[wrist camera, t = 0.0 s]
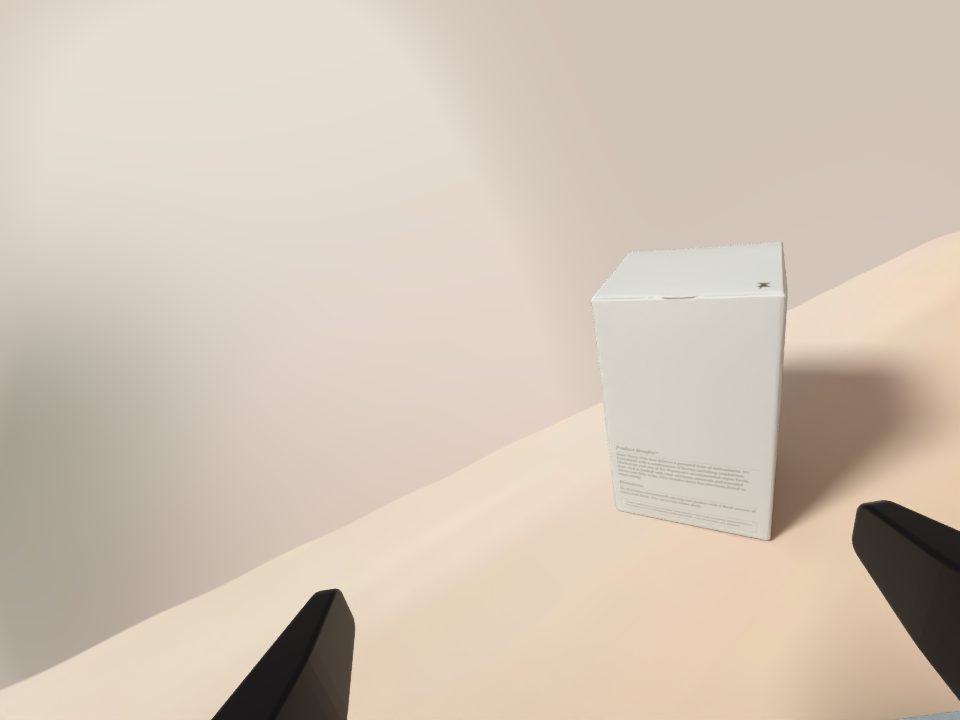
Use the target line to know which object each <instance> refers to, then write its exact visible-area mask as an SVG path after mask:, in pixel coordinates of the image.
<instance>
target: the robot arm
mask: <svg viewBox="0 0 960 720" xmlns="http://www.w3.org/2000/svg"><path fill="white" fill-rule="evenodd" d="M852 544H853V547H854V550H855V552H856V554H857V556H858V557H859V559H860V560H861V562H862V563H863V565H864V566H865V568H866V570H867V571H868V573H869V574H870V576H871V577H872V579H873V580H874V582H875V583H876V585H877V586H878V588H879V589H880V591H881V592H882V594H883V596H884V597H885V599H886V600H887V602H888V603H889V605H890V606H891V608H892V609H893V611H894V612H895V614H896V615H897V617H898V618H899V620H900V621H901V623H902V625H903V626H904V628H905V629H906V631H907V632H908V634H909V635H910V636H911V638H912V639H913V641H914V642H915V644H916V645H917V646H918V648H919V649H920V650H921V652H922V653H923V654H924V656H925V657H926V658H927V660H928V661H929V662H930V664H931V665H932V666H933V667H934V669H935V670H936V671H937V672H938V674H939V675H940V676H941V678H942V679H943V680H944V681H945V683H946V684H947V685H948V686H949V688H950V689H951V690H952V692H953V693H954V694H955V695H956V697H957V698H958V699H959V700H960V531H958V530H956V529H953V528H951V527H949V526H947V525H944V524H942V523H940V522H938V521H935V520H933V519H931V518H928V517H926V516H924V515H922V514H919V513H917V512H915V511H912V510H910V509H908V508H906V507H903V506H901V505H899V504H896V503H894V502H891V501H887V500H881V501H874V502H868V503H863V504H861V505H860V506H859V507H858V508H857V512H856V518H855V523H854V529H853V535H852ZM354 638H355V622H354V618H353V615H352V613H351V611H350V609H349V607H348V605H347V602H346V600H345V598H344V596H343V594H342V592H341V591H340V590H339V589H330V590H323V591H319V592H316V593H315V594H314V595H313V596H312V597H311V598H310V599H309V601H308V602H307V603H306V604H305V606H304V607H303V608H302V609H301V610H300V612H299V613H298V614H297V615H296V617H295V618H294V619H293V620H292V621H291V623H290V624H289V625H288V626H287V628H286V629H285V630H284V631H283V632H282V634H281V635H280V636H279V637H278V639H277V640H276V641H275V642H274V643H273V645H272V646H271V647H270V648H269V650H268V651H267V652H266V653H265V655H264V656H263V657H262V658H261V659H260V661H259V662H258V663H257V664H256V666H255V667H254V668H253V669H252V670H251V672H250V673H249V674H248V675H247V677H246V678H245V679H244V680H243V681H242V683H241V684H240V685H239V686H238V688H237V689H236V690H235V691H234V692H233V694H232V695H231V696H230V697H229V699H228V700H227V701H226V702H225V704H224V705H223V706H222V707H221V708H220V710H219V711H218V712H217V713H216V715H215V716H214V717H213V718H212V719H211V720H347V714H348V704H349V693H350V682H351V671H352V660H353V649H354Z"/></svg>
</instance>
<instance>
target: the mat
mask: <svg viewBox="0 0 960 720" xmlns="http://www.w3.org/2000/svg"><path fill="white" fill-rule="evenodd" d="M896 720H960V711H956V712H949V713H941V714H934V715H926V716H919V717H911V718H904V719H896Z"/></svg>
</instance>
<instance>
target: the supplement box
mask: <svg viewBox="0 0 960 720" xmlns="http://www.w3.org/2000/svg"><path fill="white" fill-rule="evenodd" d="M591 306H592V312H593V318H594V327H595V334H596V343H597V351H598V360H599V368H600V377H601V387H602V395H603V404H604V413H605V421H606V430H607V439H608V448H609V457H610V465H611V474H612V483H613V492H614V503H615V508H616V509H617V510H618V511H623V512H628V513H633V514H638V515H643V516H648V517H653V518H658V519H663V520H668V521H673V522H678V523H683V524H688V525H693V526H698V527H703V528H708V529H713V530H718V531H723V532H728V533H733V534H738V535H743V536H748V537H753V538H757V539H762V540H770V538H771V526H772V513H773V499H774V486H775V473H776V460H777V446H778V433H779V419H780V406H781V390H782V375H783V360H784V344H785V328H786V311H787V280H786V271H785V262H784V252H783V243H782V242H770V243H758V244H757V243H756V244H743V245H730V246H715V247H701V248H687V249H672V250H657V251H641V252H630V253H629V254H628V255H627V256H626V257H625V258H624V260H623V261H622V262H621V264H620V265H619V267H618V268H617V269H616V270H615V271H614V273H613V274H612V275H611V276H610V277H609V278H608V280H607V281H606V282H605V283H604V284H603V285H602V286H601V287H600V289H599V290H598V291H597V293H596V294H595V295H594V297H593V298H592V299H591Z"/></svg>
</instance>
